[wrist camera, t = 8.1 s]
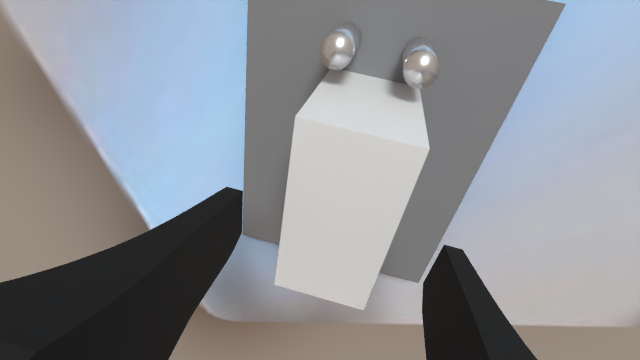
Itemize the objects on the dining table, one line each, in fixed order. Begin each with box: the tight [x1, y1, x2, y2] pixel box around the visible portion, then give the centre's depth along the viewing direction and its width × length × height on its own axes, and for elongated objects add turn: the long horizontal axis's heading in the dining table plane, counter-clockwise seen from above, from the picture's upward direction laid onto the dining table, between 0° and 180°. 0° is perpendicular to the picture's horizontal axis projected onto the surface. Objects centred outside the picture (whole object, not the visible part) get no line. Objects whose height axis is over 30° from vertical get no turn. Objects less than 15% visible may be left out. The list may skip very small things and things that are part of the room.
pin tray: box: [243, 0, 566, 283], centre depth 16 cm, size 12×16×4 cm
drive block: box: [275, 69, 430, 310], centre depth 14 cm, size 4×8×6 cm, turn 170°
